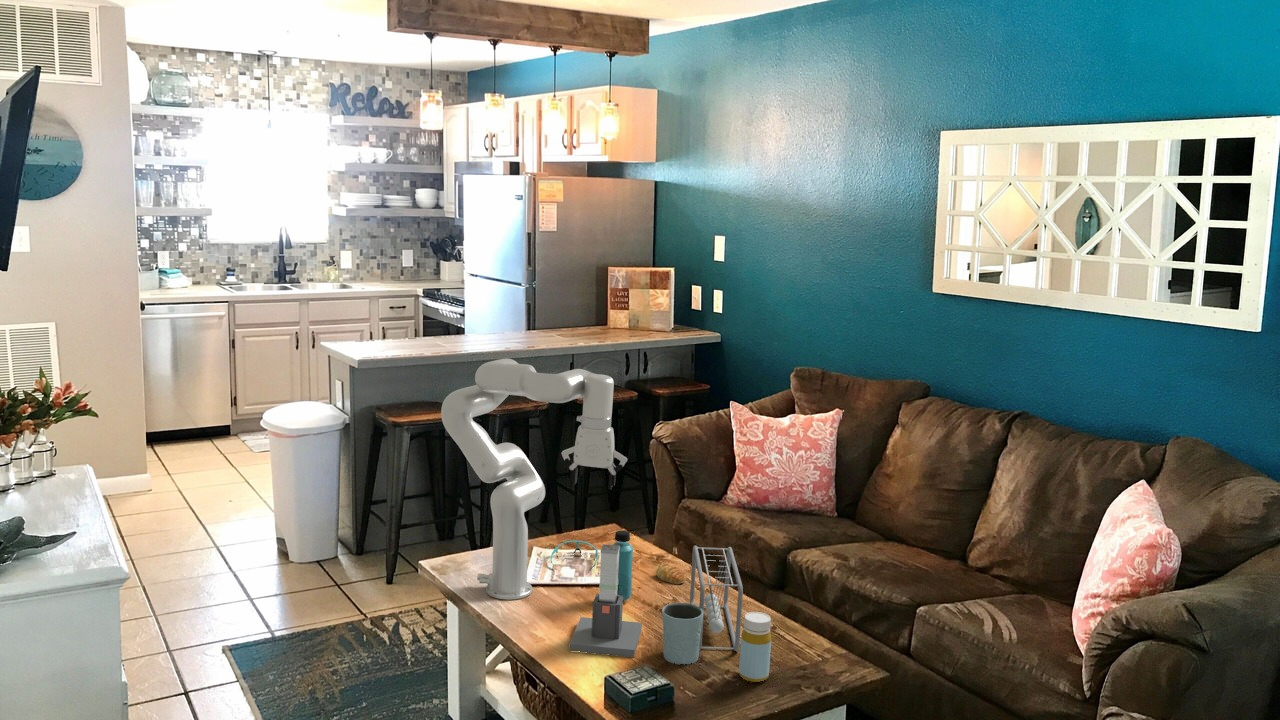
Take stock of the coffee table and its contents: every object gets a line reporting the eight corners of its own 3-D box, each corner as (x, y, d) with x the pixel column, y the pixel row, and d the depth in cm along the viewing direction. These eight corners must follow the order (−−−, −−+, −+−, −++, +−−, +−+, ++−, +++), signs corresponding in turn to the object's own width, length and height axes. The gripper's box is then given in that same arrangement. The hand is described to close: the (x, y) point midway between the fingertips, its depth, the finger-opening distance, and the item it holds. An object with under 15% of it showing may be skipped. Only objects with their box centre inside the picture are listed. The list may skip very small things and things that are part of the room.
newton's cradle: (689, 604, 289) (692, 542, 286) (727, 605, 289) (731, 544, 286) (696, 653, 260) (700, 585, 257) (739, 655, 260) (743, 587, 257)
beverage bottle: (632, 597, 292) (635, 528, 288) (630, 607, 285) (633, 536, 282) (609, 595, 292) (612, 526, 289) (606, 605, 286) (609, 534, 282)
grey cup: (687, 670, 251) (690, 622, 249) (651, 658, 256) (654, 611, 254) (708, 654, 259) (710, 608, 257) (672, 643, 264) (675, 598, 262)
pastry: (691, 582, 305) (692, 570, 304) (673, 587, 301) (674, 575, 300) (670, 572, 312) (671, 560, 311) (653, 577, 308) (653, 564, 307)
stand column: (598, 607, 261) (600, 550, 258) (600, 600, 265) (603, 544, 262) (615, 609, 260) (617, 551, 258) (617, 602, 265) (619, 545, 262)
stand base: (569, 651, 257) (570, 609, 255) (580, 624, 273) (581, 584, 271) (634, 657, 256) (636, 615, 254) (641, 629, 271) (643, 589, 269)
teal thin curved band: (600, 557, 322) (601, 542, 321) (594, 579, 308) (594, 564, 306) (555, 553, 323) (555, 538, 322) (546, 576, 309) (546, 560, 308)
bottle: (736, 669, 252) (740, 610, 249) (765, 669, 252) (769, 611, 250) (741, 683, 245) (745, 623, 242) (771, 683, 246) (775, 623, 243)
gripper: (560, 422, 269) (556, 486, 272) (627, 429, 267) (622, 494, 270) (567, 415, 276) (563, 477, 280) (631, 422, 274) (627, 485, 277)
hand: (592, 485), depth 275 cm, fingers open, 9 cm apart
